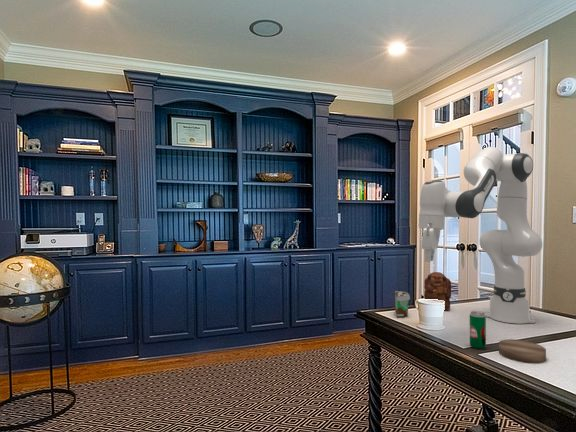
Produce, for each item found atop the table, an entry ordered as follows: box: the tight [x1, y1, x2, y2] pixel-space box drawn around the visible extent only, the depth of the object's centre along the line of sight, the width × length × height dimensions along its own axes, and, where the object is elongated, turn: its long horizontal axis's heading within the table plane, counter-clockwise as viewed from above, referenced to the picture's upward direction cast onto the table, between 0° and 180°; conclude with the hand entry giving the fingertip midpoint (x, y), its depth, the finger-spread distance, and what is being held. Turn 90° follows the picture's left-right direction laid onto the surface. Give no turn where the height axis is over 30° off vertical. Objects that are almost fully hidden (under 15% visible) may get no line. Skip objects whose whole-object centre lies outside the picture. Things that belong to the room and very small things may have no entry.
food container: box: [394, 290, 411, 319], centre depth 170 cm, size 12×6×10 cm, turn 168°
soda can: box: [469, 310, 487, 350], centre depth 129 cm, size 5×5×12 cm
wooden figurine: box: [423, 271, 452, 312], centre depth 180 cm, size 12×6×18 cm, turn 77°
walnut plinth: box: [498, 338, 547, 364], centre depth 122 cm, size 13×13×3 cm
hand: (429, 261), depth 137 cm, fingers open, 8 cm apart
